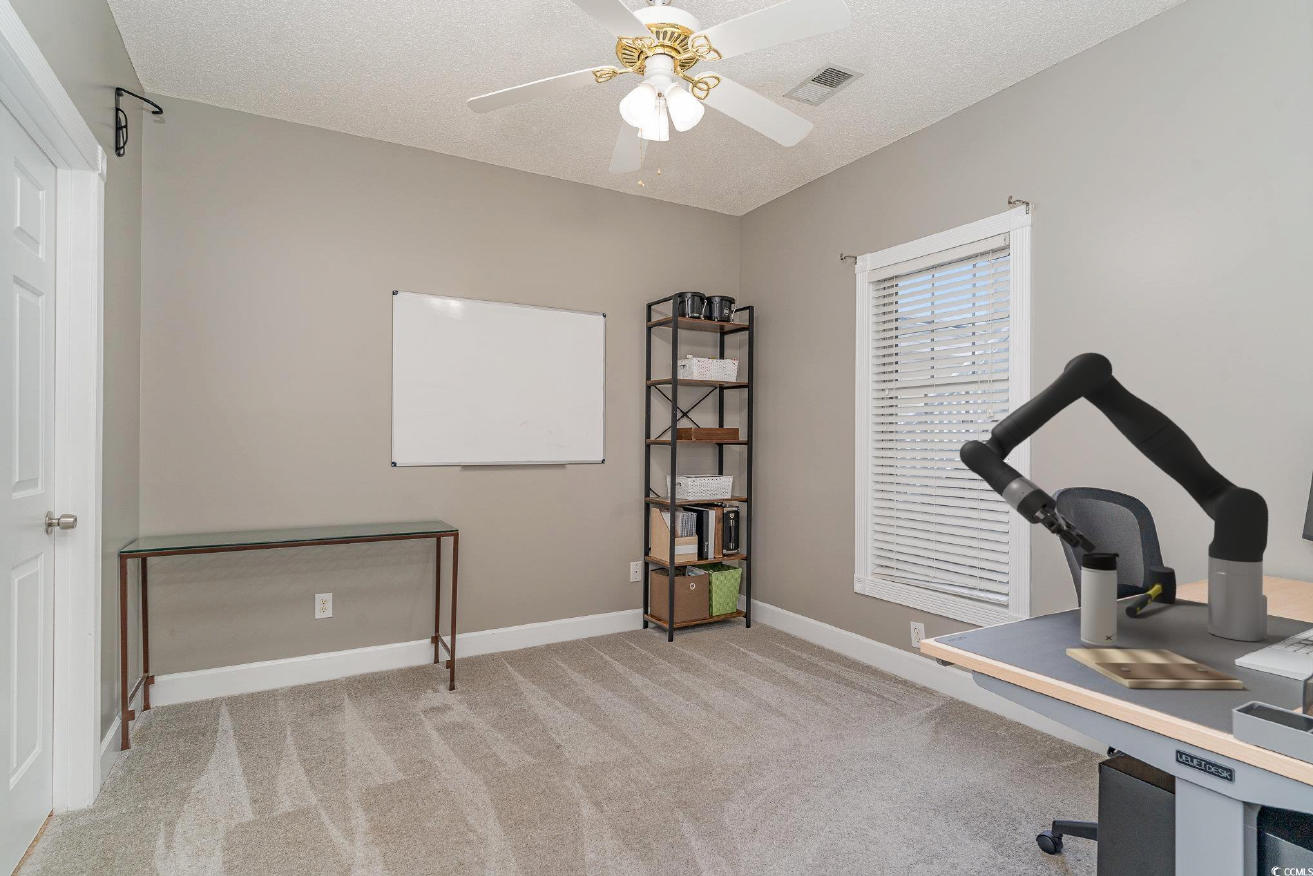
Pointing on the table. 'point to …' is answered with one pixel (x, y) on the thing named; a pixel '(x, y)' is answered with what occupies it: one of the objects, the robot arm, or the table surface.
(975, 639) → the table surface
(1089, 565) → the travel mug
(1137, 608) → the mallet
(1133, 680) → the plywood panel
